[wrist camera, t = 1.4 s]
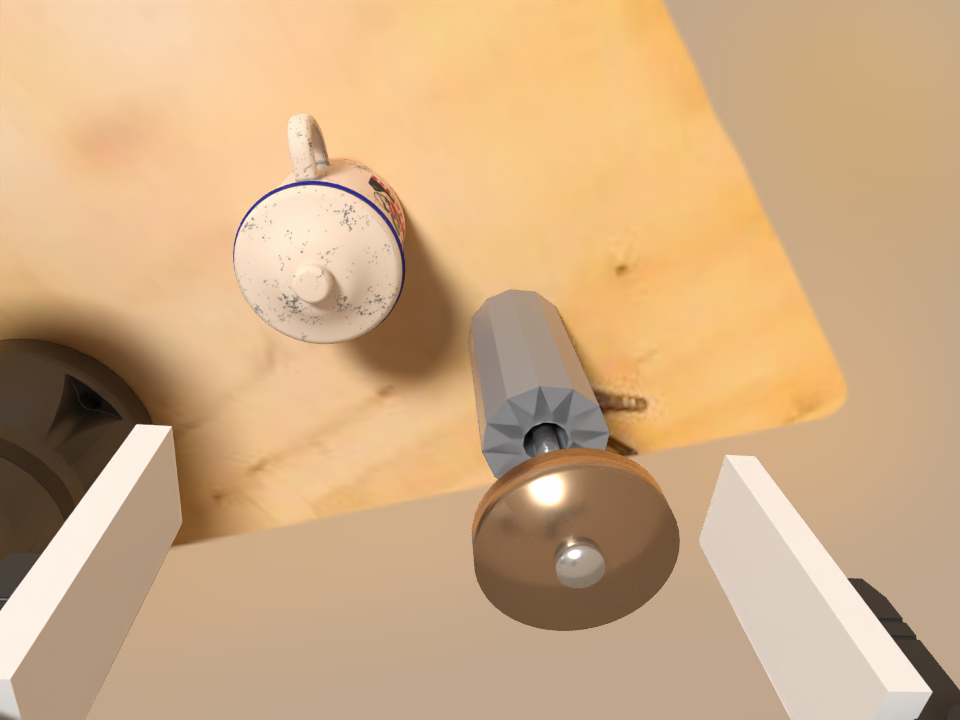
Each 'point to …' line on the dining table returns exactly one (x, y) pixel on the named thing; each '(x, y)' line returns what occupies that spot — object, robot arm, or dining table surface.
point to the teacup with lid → (322, 245)
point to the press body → (528, 381)
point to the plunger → (573, 537)
